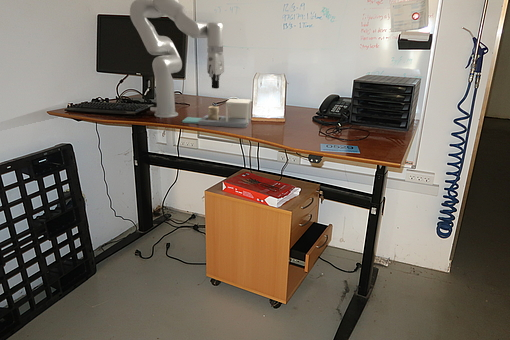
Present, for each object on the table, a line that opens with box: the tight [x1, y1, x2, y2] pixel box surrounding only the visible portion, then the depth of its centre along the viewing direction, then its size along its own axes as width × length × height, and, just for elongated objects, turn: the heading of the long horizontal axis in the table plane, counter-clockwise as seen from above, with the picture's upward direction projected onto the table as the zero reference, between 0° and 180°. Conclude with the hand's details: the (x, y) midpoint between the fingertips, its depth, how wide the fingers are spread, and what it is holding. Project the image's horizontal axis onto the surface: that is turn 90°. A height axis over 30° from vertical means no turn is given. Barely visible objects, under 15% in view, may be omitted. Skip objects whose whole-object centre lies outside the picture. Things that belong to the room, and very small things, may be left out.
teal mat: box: [181, 116, 203, 125], centre depth 198 cm, size 9×9×1 cm
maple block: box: [207, 105, 220, 121], centre depth 195 cm, size 4×4×8 cm
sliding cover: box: [225, 98, 252, 123], centre depth 192 cm, size 11×10×10 cm
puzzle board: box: [198, 114, 251, 129], centre depth 195 cm, size 24×14×2 cm, turn 82°
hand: (215, 88), depth 190 cm, fingers closed
